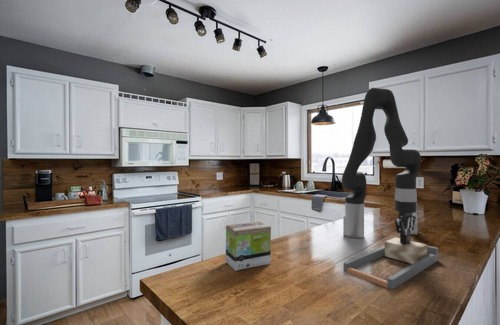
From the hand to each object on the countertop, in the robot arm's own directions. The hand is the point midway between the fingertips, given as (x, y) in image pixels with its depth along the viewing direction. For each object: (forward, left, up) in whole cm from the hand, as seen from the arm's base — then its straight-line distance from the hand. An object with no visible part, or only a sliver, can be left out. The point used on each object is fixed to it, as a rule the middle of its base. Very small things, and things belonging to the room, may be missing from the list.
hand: (405, 242), depth 105 cm
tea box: (-35, -52, -7) cm, 63 cm away
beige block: (0, 0, -7) cm, 7 cm away
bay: (0, -11, -7) cm, 13 cm away
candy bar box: (-16, +43, -7) cm, 46 cm away
